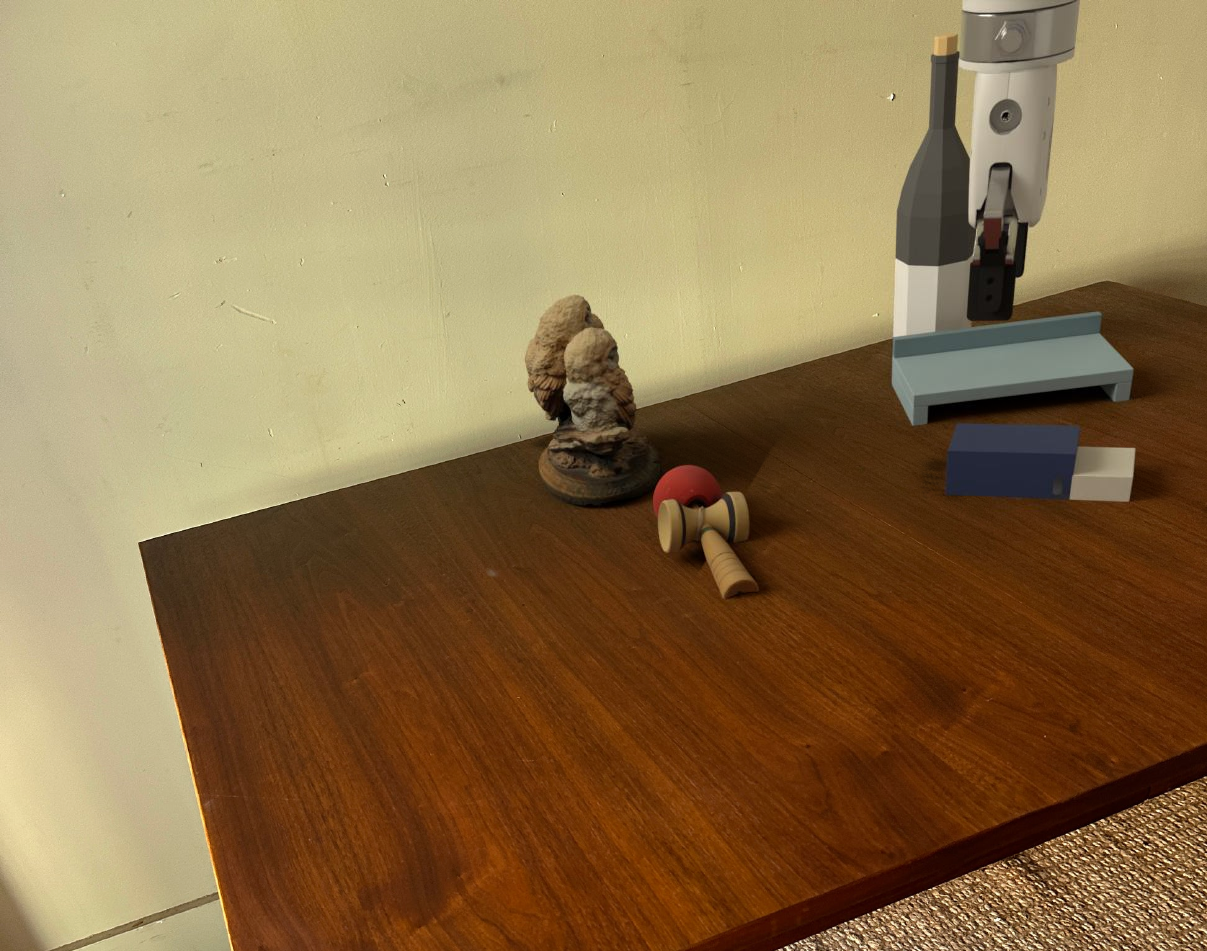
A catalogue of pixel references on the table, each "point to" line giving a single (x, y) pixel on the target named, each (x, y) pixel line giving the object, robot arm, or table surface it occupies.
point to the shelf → (1006, 362)
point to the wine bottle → (935, 215)
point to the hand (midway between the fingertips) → (995, 297)
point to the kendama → (704, 523)
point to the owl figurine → (587, 410)
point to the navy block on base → (1035, 464)
